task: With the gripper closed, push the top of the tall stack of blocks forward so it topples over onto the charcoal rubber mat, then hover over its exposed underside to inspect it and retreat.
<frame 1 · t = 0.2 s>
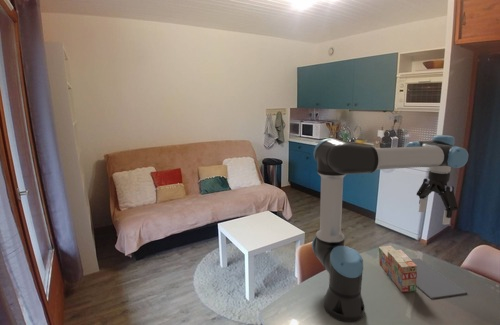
hand: (433, 217, 121), 28 cm above the table, fingers open, 13 cm apart
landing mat: (424, 277, 124), on the table
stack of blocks: (396, 276, 125), on the table, touching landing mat
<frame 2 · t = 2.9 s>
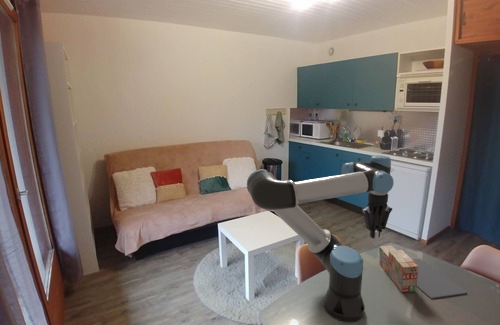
hand: (374, 244, 118), 18 cm above the table, fingers closed
nothing on the table moved.
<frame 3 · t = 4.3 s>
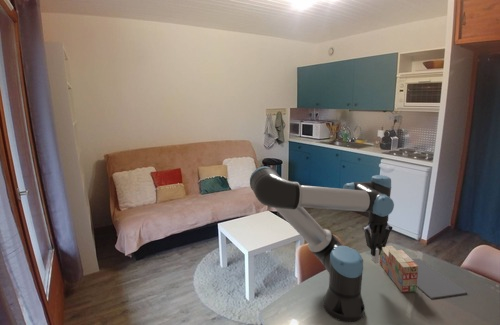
hand: (374, 261, 120), 10 cm above the table, fingers closed
nothing on the table moved.
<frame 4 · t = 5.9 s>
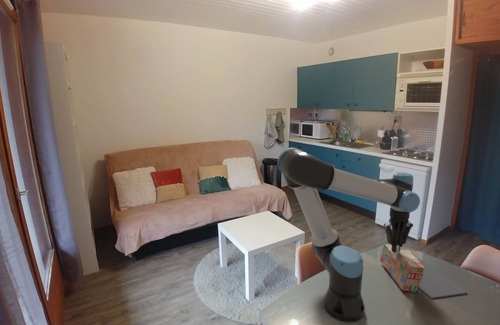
hand: (395, 258, 121), 10 cm above the table, fingers closed
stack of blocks: (396, 275, 124), point 1 cm above the table, touching gripper, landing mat
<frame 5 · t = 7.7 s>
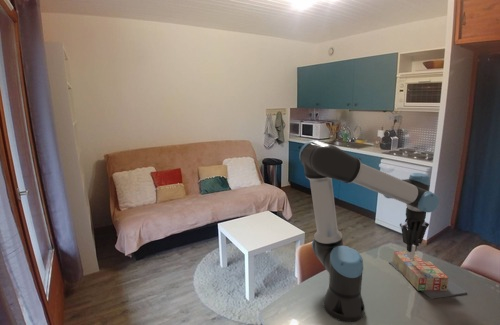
hand: (410, 257, 123), 9 cm above the table, fingers closed
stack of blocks: (404, 269, 124), point 4 cm above the table, touching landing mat
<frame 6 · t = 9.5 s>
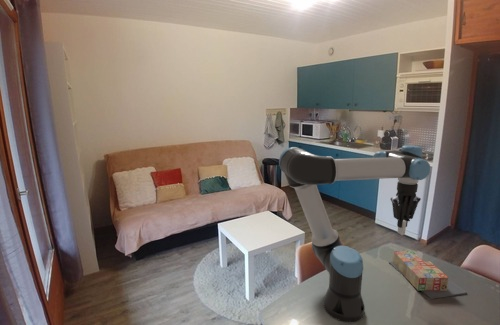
hand: (401, 233, 120), 22 cm above the table, fingers closed
nothing on the table moved.
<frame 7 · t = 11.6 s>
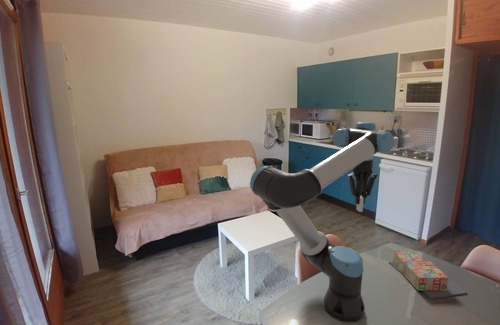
hand: (359, 210, 121), 31 cm above the table, fingers closed
nothing on the table moved.
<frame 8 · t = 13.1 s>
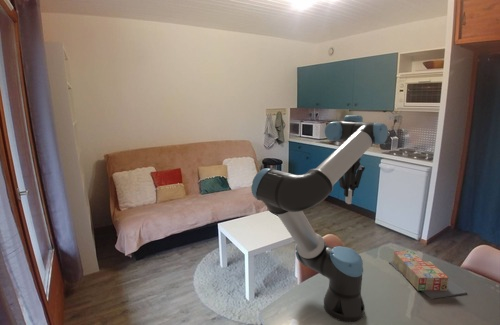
hand: (348, 202, 122), 34 cm above the table, fingers closed
nothing on the table moved.
at the end: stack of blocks tilted 90°; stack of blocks touching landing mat; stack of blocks inside the target area (4.6 cm from its centre), point 3.7 cm above the table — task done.
